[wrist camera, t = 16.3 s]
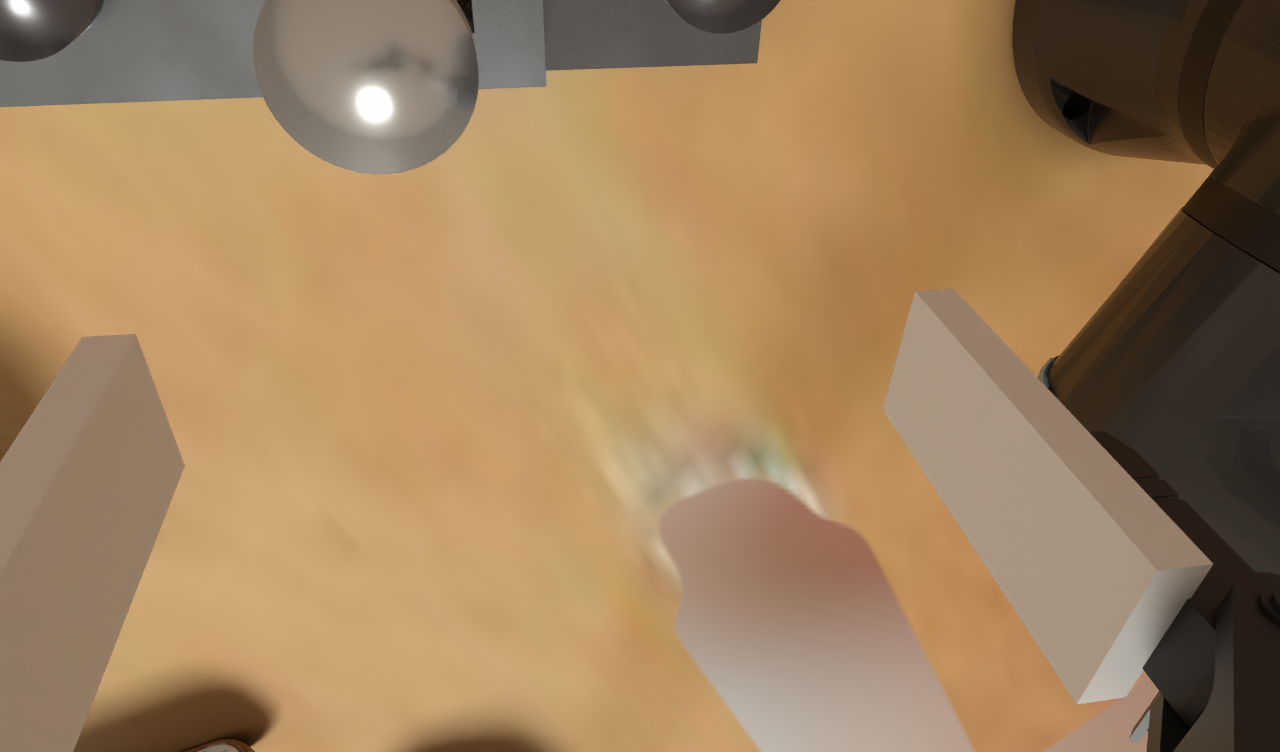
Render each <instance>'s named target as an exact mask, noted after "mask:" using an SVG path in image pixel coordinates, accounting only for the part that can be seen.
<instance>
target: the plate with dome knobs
mask: <svg viewBox="0 0 1280 752" xmlns="http://www.w3.org/2000/svg"><path fill="white" fill-rule="evenodd" d="M265 1H266V0H0V107H14V106H40V105H67V104H93V103H120V102H146V101H173V100H200V99H226V98H253V97H263V95H262V93H261V91H260V88H259V85H258V81H257V78H256V74H255V68H254V63H253V39H254V31H255V27H256V23H257V19H258V16H259V14H260V12H261V9H262V7H263V5H264V3H265ZM779 1H780V0H470V4H471V6H460V8H461V9H462V11H463V13H464V15H465V17H466V19H467V21H468V24H469V26H470V29H471V32H472V35H473V39H474V43H475V49H476V56H477V63H478V76H479V84H478V89H492V88H519V87H545V86H546V70H573V69H602V68H631V67H660V66H689V65H718V64H747V63H757V59H758V49H759V40H760V30H761V21H762V19H763V18H764V17H766V16H767V15H768V14H769V13H770V12H771V11H772V10H773V9H774V8H775V6H776V5H777V4H778V3H779Z"/></svg>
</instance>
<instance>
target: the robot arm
mask: <svg viewBox="0 0 1280 752" xmlns="http://www.w3.org/2000/svg"><path fill="white" fill-rule="evenodd" d="M1013 55H1014V63H1015V68H1016V73H1017V76H1018V80H1019V83H1020V85H1021V88H1022V90H1023V92H1024V95H1025V97H1026V99H1027V100H1028V102H1029V103H1030V105H1031V107H1032V108H1033V109H1034V110H1035V112H1036V113H1037V114H1038V115H1039V116H1040V117H1041V118H1042V119H1043V120H1044V121H1045V122H1046V123H1048V124H1049V125H1050V126H1052V127H1053V128H1055V129H1056V130H1058V131H1060V132H1061V133H1063V134H1065V135H1066V136H1068V137H1069V138H1071V139H1073V140H1074V141H1076V142H1078V143H1080V144H1082V145H1084V146H1086V147H1088V148H1090V149H1093V150H1096V151H1099V152H1102V153H1106V154H1110V155H1116V156H1124V157H1134V158H1144V159H1154V160H1165V161H1175V162H1185V163H1195V164H1205V165H1208V166H1210V167H1212V168H1214V170H1213V171H1212V172H1211V174H1210V175H1209V177H1208V178H1207V179H1206V180H1205V181H1204V183H1203V184H1202V185H1201V186H1200V188H1199V189H1198V190H1197V191H1196V192H1195V194H1194V195H1193V196H1192V197H1191V198H1190V200H1189V201H1188V202H1187V203H1186V205H1185V206H1183V207H1182V208H1181V209H1180V210H1179V212H1178V213H1177V214H1176V215H1175V217H1174V218H1173V219H1172V220H1171V222H1170V223H1169V224H1168V225H1167V226H1166V228H1165V229H1164V230H1163V231H1162V233H1161V234H1160V235H1159V236H1158V238H1157V239H1156V240H1155V241H1154V242H1153V244H1152V245H1151V246H1150V247H1149V249H1148V250H1147V251H1146V252H1145V254H1144V255H1143V256H1142V257H1141V258H1140V260H1139V261H1138V262H1137V263H1136V265H1135V266H1134V267H1133V268H1132V270H1131V271H1130V272H1129V273H1128V274H1127V276H1126V277H1125V278H1124V279H1123V281H1122V282H1121V283H1120V284H1119V286H1118V287H1117V288H1116V289H1115V290H1114V292H1113V293H1112V294H1111V295H1110V296H1109V298H1108V299H1107V300H1106V301H1105V302H1104V304H1103V305H1102V306H1101V307H1100V308H1099V309H1098V311H1097V312H1096V313H1095V314H1094V315H1093V317H1092V318H1091V319H1090V320H1089V321H1088V322H1087V324H1086V325H1085V326H1084V327H1083V328H1082V330H1081V331H1080V332H1079V333H1078V334H1077V336H1076V337H1075V338H1074V339H1073V340H1072V341H1071V343H1070V344H1069V345H1068V346H1067V347H1066V349H1065V350H1064V351H1063V352H1062V353H1061V354H1060V356H1057V357H1055V358H1050V359H1049V360H1048V361H1047V363H1046V364H1045V365H1044V366H1043V367H1042V369H1041V370H1040V373H1039V376H1038V378H1037V377H1036V376H1035V375H1034V374H1033V373H1032V371H1031V370H1030V369H1029V368H1028V367H1027V366H1026V365H1025V364H1024V363H1023V362H1022V361H1021V360H1020V359H1019V358H1018V357H1017V356H1016V355H1015V353H1014V352H1013V351H1012V350H1011V349H1010V348H1009V347H1008V346H1007V345H1006V344H1005V343H1004V342H1003V341H1002V340H1001V339H1000V338H999V337H998V335H997V334H996V333H995V332H994V331H993V330H992V329H991V328H990V327H989V326H988V325H987V324H986V323H985V322H984V321H983V320H982V319H981V317H980V316H979V315H978V314H977V313H976V312H975V311H974V310H973V309H972V308H971V307H970V306H969V305H968V304H967V303H966V302H965V301H964V299H963V298H962V297H961V296H960V295H959V294H958V293H957V292H956V291H955V290H954V289H947V290H929V291H915V293H914V297H913V301H912V304H911V308H910V312H909V315H908V319H907V323H906V326H905V330H904V334H903V337H902V341H901V345H900V348H899V352H898V356H897V359H896V363H895V367H894V370H893V374H892V378H891V382H890V385H889V389H888V393H887V396H886V400H885V404H884V407H883V411H884V412H885V414H886V415H887V417H888V419H889V420H890V422H891V423H892V425H893V426H894V428H895V429H896V431H897V432H898V434H899V435H900V437H901V438H902V440H903V441H904V443H905V444H906V446H907V447H908V449H909V450H910V452H911V453H912V455H913V456H914V458H915V460H916V461H917V463H918V464H919V466H920V467H921V469H922V470H923V472H924V473H925V475H926V476H927V478H928V479H929V481H930V482H931V484H932V485H933V487H934V488H935V490H936V491H937V493H938V494H939V496H940V497H941V499H942V501H943V502H944V504H945V505H946V507H947V508H948V510H949V511H950V513H951V514H952V516H953V517H954V519H955V520H956V522H957V523H958V525H959V526H960V528H961V529H962V531H963V532H964V534H965V535H966V537H967V539H968V540H969V542H970V543H971V545H972V546H973V548H974V549H975V551H976V552H977V554H978V555H979V557H980V558H981V560H982V561H983V563H984V564H985V566H986V567H987V569H988V570H989V572H990V573H991V575H992V576H993V578H994V580H995V581H996V583H997V584H998V586H999V587H1000V589H1001V590H1002V592H1003V593H1004V595H1005V596H1006V598H1007V599H1008V601H1009V602H1010V604H1011V605H1012V607H1013V608H1014V610H1015V611H1016V613H1017V614H1018V616H1019V617H1020V619H1021V621H1022V622H1023V624H1024V625H1025V627H1026V628H1027V630H1028V631H1029V633H1030V634H1031V636H1032V637H1033V639H1034V640H1035V642H1036V643H1037V645H1038V646H1039V648H1040V649H1041V651H1042V652H1043V654H1044V655H1045V657H1046V659H1047V660H1048V662H1049V663H1050V665H1051V666H1052V668H1053V669H1054V671H1055V672H1056V674H1057V675H1058V677H1059V678H1060V680H1061V681H1062V683H1063V684H1064V686H1065V687H1066V689H1067V690H1068V692H1069V693H1070V695H1071V696H1072V698H1073V700H1074V701H1075V703H1076V704H1083V703H1090V702H1096V701H1103V700H1110V699H1116V698H1123V697H1126V696H1127V694H1128V693H1129V691H1130V690H1131V688H1132V687H1133V685H1134V684H1135V682H1136V681H1137V679H1138V678H1139V676H1140V675H1141V673H1142V672H1143V670H1144V671H1145V672H1146V674H1147V675H1148V676H1149V677H1150V679H1151V680H1152V682H1153V683H1154V684H1155V686H1156V687H1157V688H1158V689H1159V692H1158V694H1157V695H1156V697H1155V698H1154V699H1153V701H1152V702H1151V704H1150V705H1149V707H1148V708H1147V709H1146V711H1145V712H1144V714H1143V715H1142V717H1141V718H1140V720H1139V721H1138V723H1137V724H1136V725H1135V727H1134V728H1133V731H1132V733H1131V735H1130V738H1129V740H1131V741H1133V742H1135V743H1138V742H1139V740H1140V739H1141V738H1142V736H1143V735H1144V733H1145V732H1146V731H1148V742H1147V752H1280V0H1016V6H1015V12H1014V20H1013ZM184 466H185V465H184V462H183V460H182V457H181V454H180V452H179V449H178V446H177V444H176V441H175V438H174V435H173V433H172V430H171V427H170V425H169V422H168V419H167V417H166V414H165V411H164V409H163V406H162V403H161V401H160V398H159V395H158V392H157V390H156V387H155V384H154V382H153V379H152V376H151V374H150V371H149V368H148V366H147V363H146V360H145V358H144V355H143V352H142V349H141V347H140V344H139V341H138V339H137V336H136V334H128V335H110V336H92V337H82V338H81V340H80V341H79V343H78V344H77V346H76V347H75V349H74V350H73V352H72V353H71V355H70V356H69V358H68V359H67V361H66V362H65V364H64V366H63V367H62V369H61V370H60V372H59V373H58V375H57V376H56V378H55V379H54V381H53V382H52V384H51V385H50V387H49V388H48V390H47V391H46V393H45V395H44V396H43V398H42V399H41V401H40V402H39V404H38V405H37V407H36V408H35V410H34V411H33V413H32V414H31V416H30V417H29V419H28V420H27V422H26V424H25V425H24V427H23V428H22V430H21V431H20V433H19V434H18V436H17V437H16V439H15V440H14V442H13V443H12V445H11V446H10V448H9V449H8V451H7V453H6V454H5V456H4V457H3V459H2V460H1V462H0V752H73V751H74V749H75V746H76V744H77V741H78V739H79V736H80V733H81V731H82V728H83V726H84V723H85V721H86V718H87V715H88V713H89V710H90V708H91V705H92V703H93V700H94V697H95V695H96V692H97V690H98V687H99V685H100V682H101V679H102V677H103V674H104V672H105V669H106V667H107V664H108V661H109V659H110V656H111V654H112V651H113V649H114V646H115V643H116V641H117V638H118V636H119V633H120V631H121V628H122V625H123V623H124V620H125V618H126V615H127V613H128V610H129V607H130V605H131V602H132V600H133V597H134V595H135V592H136V589H137V587H138V584H139V582H140V579H141V577H142V574H143V571H144V569H145V566H146V564H147V561H148V559H149V556H150V553H151V551H152V548H153V546H154V543H155V541H156V538H157V535H158V533H159V530H160V528H161V525H162V523H163V520H164V518H165V515H166V512H167V510H168V507H169V505H170V502H171V500H172V497H173V494H174V492H175V489H176V487H177V484H178V482H179V479H180V476H181V474H182V471H183V469H184Z"/></svg>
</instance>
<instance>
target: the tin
mask: <svg viewBox="0 0 1280 752" xmlns="http://www.w3.org/2000/svg"><path fill="white" fill-rule="evenodd" d="M183 752H255V751H254V750H253V749H251V748H250V747H249V746H248V745H246V744H245V743H243V742H241V741H238V740H234V739H220V740H216V741H212V742H209V743H206V744H203V745H201V746H198V747H195V748H192V749H189V750H186V751H183Z"/></svg>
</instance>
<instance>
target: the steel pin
mask: <svg viewBox="0 0 1280 752" xmlns="http://www.w3.org/2000/svg"><path fill="white" fill-rule="evenodd" d="M253 63H254V68H255V74H256V78H257V81H258V85H259V88H260V91H261V93H262V95H263V97H264V100H265V102H266V104H267V106H268V107H269V109H270V111H271V112H272V114H273V115H274V117H275V118H276V120H277V121H278V122H279V124H280V125H281V126H282V127H283V129H284V130H285V131H286V132H287V133H288V134H289V135H290V136H291V137H292V138H293V139H294V140H295V141H296V142H298V143H299V144H300V145H301V146H303V147H304V148H305V149H306V150H308V151H309V152H311V153H312V154H314V155H316V156H317V157H319V158H321V159H323V160H325V161H327V162H329V163H331V164H333V165H336V166H338V167H341V168H344V169H347V170H352V171H356V172H360V173H368V174H392V173H400V172H404V171H408V170H412V169H415V168H418V167H420V166H423V165H425V164H427V163H429V162H431V161H433V160H434V159H436V158H437V157H439V156H440V155H442V154H443V153H444V152H446V151H447V150H448V149H449V148H450V147H451V146H452V145H453V144H454V143H455V142H456V141H457V139H458V138H459V137H460V135H461V134H462V133H463V131H464V129H465V128H466V126H467V124H468V122H469V120H470V118H471V115H472V113H473V110H474V107H475V103H476V99H477V94H478V84H479V76H478V63H477V56H476V49H475V43H474V39H473V35H472V32H471V29H470V26H469V24H468V21H467V19H466V17H465V15H464V13H463V11H462V9H461V8H460V6H459V4H458V2H457V1H456V0H266V1H265V3H264V5H263V7H262V9H261V12H260V14H259V16H258V19H257V23H256V27H255V31H254V39H253Z"/></svg>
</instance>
